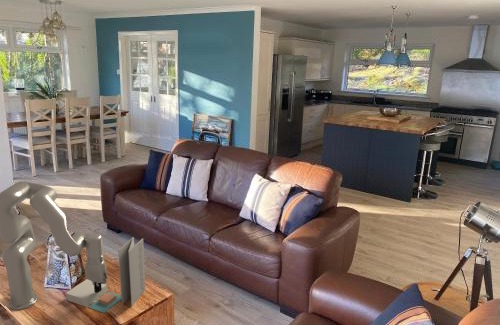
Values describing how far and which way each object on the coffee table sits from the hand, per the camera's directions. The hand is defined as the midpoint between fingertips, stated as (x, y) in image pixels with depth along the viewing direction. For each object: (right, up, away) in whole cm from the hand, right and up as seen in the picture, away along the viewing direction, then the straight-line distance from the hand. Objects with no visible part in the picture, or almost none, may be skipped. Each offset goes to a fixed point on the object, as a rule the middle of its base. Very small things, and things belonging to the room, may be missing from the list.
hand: (98, 291), depth 188 cm
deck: (-7, -4, +4) cm, 9 cm away
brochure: (+17, -5, +4) cm, 18 cm away
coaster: (+5, -3, 0) cm, 6 cm away
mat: (+4, -5, 0) cm, 7 cm away
